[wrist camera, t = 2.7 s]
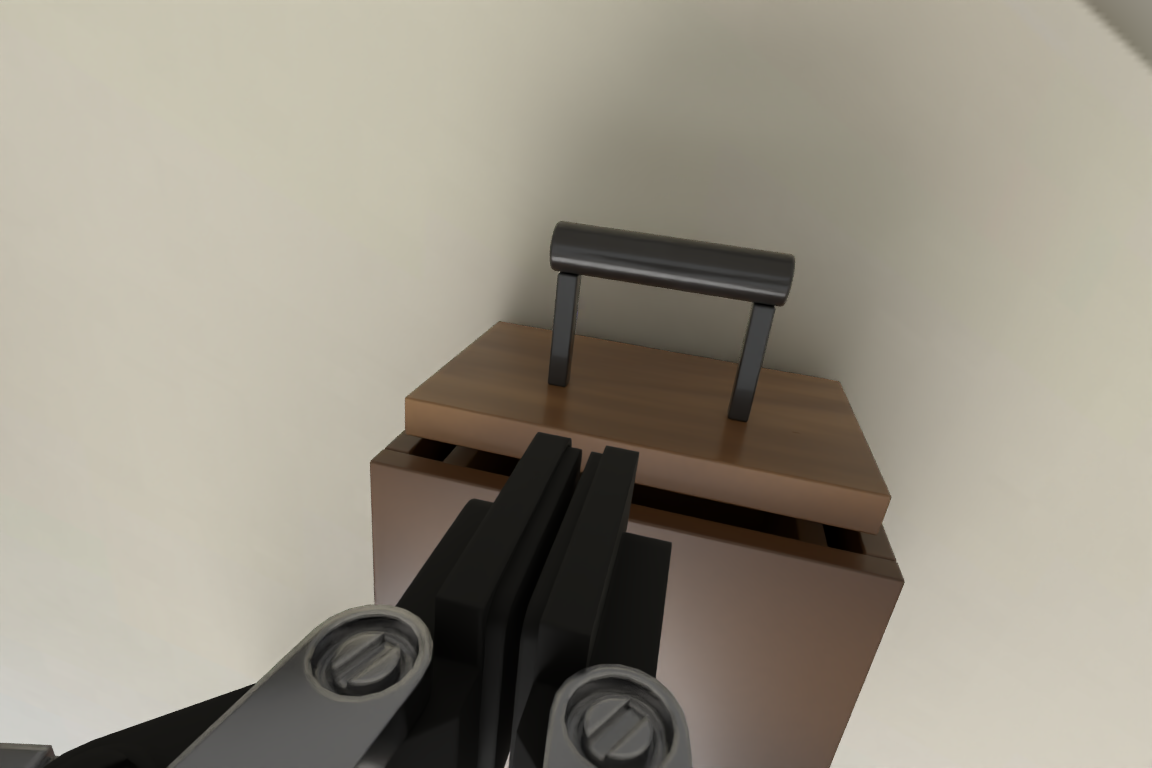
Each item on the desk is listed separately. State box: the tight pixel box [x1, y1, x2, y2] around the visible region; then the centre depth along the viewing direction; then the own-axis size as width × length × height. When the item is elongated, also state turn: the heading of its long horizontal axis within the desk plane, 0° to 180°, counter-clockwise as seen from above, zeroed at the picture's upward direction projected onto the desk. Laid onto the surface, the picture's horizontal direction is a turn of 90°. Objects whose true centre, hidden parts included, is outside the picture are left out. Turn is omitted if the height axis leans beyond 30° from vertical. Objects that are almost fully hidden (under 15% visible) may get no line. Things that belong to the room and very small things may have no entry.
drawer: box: [405, 221, 891, 547], centre depth 21 cm, size 18×13×8 cm
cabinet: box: [370, 430, 904, 768], centre depth 23 cm, size 15×14×10 cm
